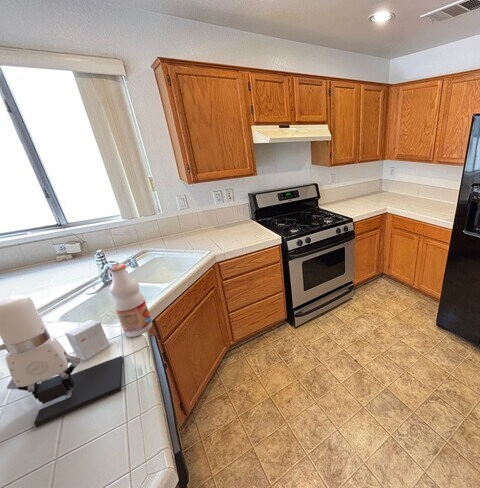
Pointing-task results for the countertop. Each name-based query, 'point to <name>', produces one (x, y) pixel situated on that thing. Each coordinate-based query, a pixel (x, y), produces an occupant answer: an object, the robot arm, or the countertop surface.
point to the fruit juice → (129, 302)
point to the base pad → (86, 389)
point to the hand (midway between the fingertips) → (56, 392)
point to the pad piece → (51, 389)
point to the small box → (87, 339)
